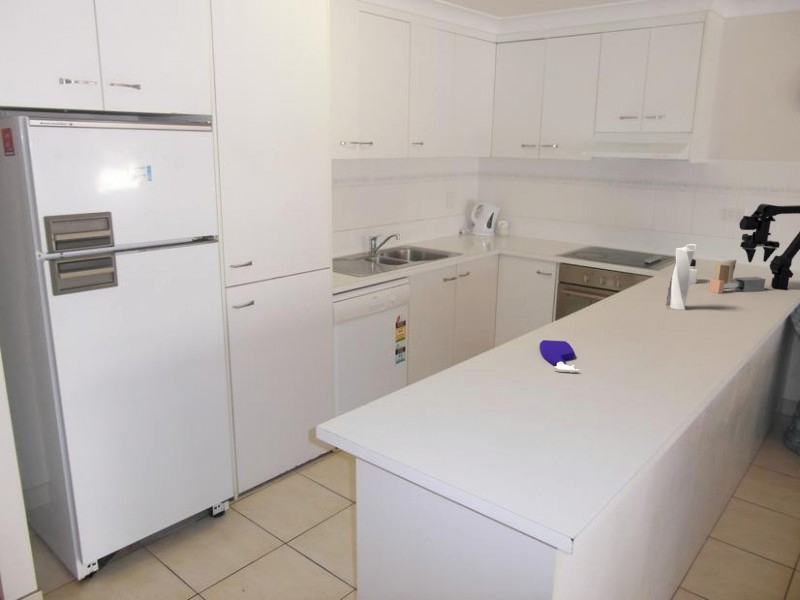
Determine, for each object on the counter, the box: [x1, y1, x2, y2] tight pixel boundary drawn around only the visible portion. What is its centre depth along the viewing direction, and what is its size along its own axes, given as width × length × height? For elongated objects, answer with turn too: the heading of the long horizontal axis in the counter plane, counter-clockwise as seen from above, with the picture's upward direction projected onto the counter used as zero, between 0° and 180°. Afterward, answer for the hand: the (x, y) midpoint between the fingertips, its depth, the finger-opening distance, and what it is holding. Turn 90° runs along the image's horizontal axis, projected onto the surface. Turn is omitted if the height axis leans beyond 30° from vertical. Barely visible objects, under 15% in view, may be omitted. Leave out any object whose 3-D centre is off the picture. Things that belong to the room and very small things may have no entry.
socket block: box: [708, 278, 725, 295], centre depth 296 cm, size 3×6×6 cm, turn 17°
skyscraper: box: [665, 243, 698, 311], centre depth 263 cm, size 8×8×28 cm
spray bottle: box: [538, 339, 580, 374], centre depth 199 cm, size 3×11×24 cm
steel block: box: [734, 276, 766, 293], centre depth 302 cm, size 12×6×6 cm, turn 107°
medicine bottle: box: [690, 258, 699, 285], centre depth 317 cm, size 7×7×12 cm
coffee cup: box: [714, 256, 737, 282], centre depth 320 cm, size 9×9×12 cm
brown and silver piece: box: [719, 265, 745, 290], centre depth 298 cm, size 18×4×12 cm, turn 107°
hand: (757, 262), depth 305 cm, fingers open, 9 cm apart
